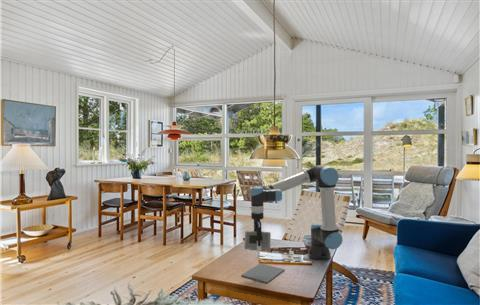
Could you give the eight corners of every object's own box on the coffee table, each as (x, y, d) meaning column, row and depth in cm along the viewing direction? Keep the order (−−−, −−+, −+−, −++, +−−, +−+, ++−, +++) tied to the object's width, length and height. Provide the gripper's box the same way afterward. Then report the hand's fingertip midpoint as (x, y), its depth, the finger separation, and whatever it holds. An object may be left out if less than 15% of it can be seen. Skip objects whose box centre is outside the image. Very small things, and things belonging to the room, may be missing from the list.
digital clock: (243, 249, 200) (242, 232, 200) (248, 245, 209) (248, 228, 208) (268, 253, 194) (267, 235, 193) (272, 248, 202) (272, 231, 202)
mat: (260, 264, 215) (260, 263, 215) (284, 270, 204) (284, 269, 204) (241, 276, 196) (241, 274, 196) (267, 283, 186) (267, 282, 186)
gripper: (249, 208, 211) (249, 243, 212) (253, 216, 190) (254, 254, 191) (260, 208, 211) (260, 242, 212) (266, 215, 190) (267, 254, 191)
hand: (257, 248), depth 201 cm, fingers closed on digital clock, 8 cm apart
